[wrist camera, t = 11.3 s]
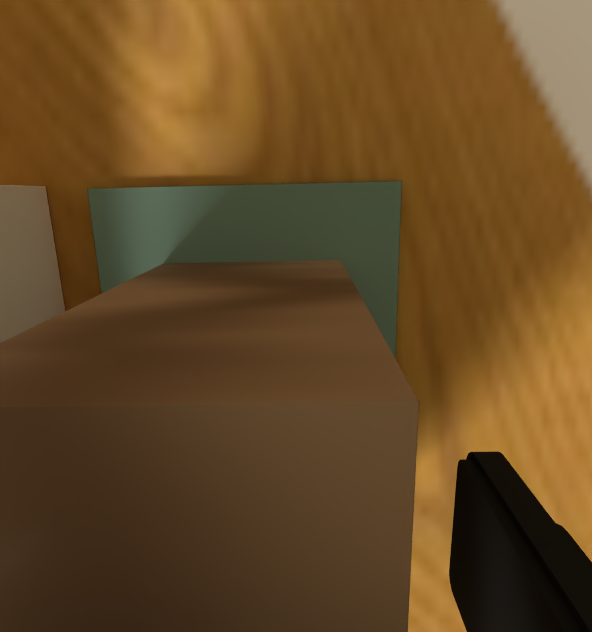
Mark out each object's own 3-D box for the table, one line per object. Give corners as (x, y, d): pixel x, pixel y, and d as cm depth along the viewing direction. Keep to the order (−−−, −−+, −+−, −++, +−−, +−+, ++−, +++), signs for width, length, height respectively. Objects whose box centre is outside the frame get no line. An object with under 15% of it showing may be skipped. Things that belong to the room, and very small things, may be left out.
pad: (399, 181, 12) (401, 181, 12) (385, 571, 16) (387, 578, 15) (92, 188, 13) (87, 188, 12) (143, 572, 16) (140, 579, 16)
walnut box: (342, 259, 13) (427, 406, 4) (341, 530, 15) (394, 1005, 6) (161, 263, 13) (-152, 414, 4) (188, 531, 15) (27, 999, 6)
